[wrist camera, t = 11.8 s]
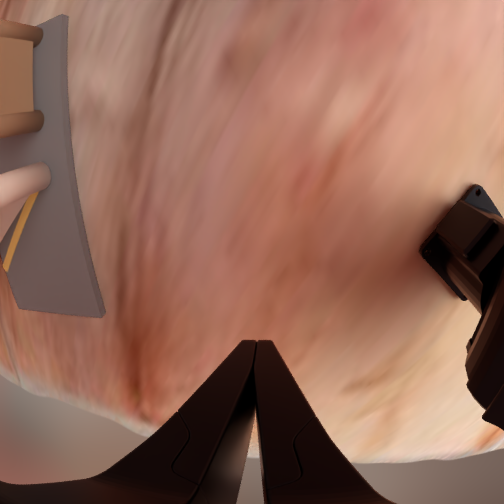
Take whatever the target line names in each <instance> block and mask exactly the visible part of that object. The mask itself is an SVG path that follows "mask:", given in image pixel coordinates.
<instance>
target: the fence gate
mask: <svg viewBox="0 0 504 504" xmlns="http://www.w3.org/2000/svg"><path fill="white" fill-rule="evenodd" d="M50 181H51V173H50V169H49V167H48V166H47V165H46V164H45V163H43V162H37V163H34V164H31V165H27V166H24V167H21V168H18V169H15V170H12V171H9V172H6V173H3V174H0V243H1V241H2V239H3V237H4V236H5V234H6V232H7V230H8V229H9V227H10V225H11V224H12V222H13V220H14V219H15V217H16V216H17V214H18V212H19V211H20V209H21V208H22V206H23V205H24V203H25V202H26V200H27V199H28V197H29V196H30V195H31V194H34V193H36V192H38V191H41V190H43V189H45V188H47V187H48V186H49V184H50Z"/></svg>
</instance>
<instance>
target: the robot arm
mask: <svg viewBox="0 0 504 504" xmlns="http://www.w3.org/2000/svg"><path fill="white" fill-rule="evenodd" d="M477 189H478V193H477V194H475V193H476V190H477ZM426 249H429V251H428V252H427V253H425V250H426ZM419 253H420V255H421V256H422V257H423V258H424V259H425V260H426V261H427V262H428V263H429V265H430V266H431V267H432V268H433V269H434V270H435V271H436V272H437V273H438V274H439V275H440V276H441V277H442V279H443V280H444V281H445V282H446V283H447V284H448V285H449V286H450V287H451V289H452V290H453V291H454V292H455V293H456V294H457V295H458V296H459V298H460V299H461V300H462V301H466V300H469V301H470V302H471V303H472V305H473V306H474V307H475V308H476V309H477V311H478V312H479V313H480V314H481V315H482V316H481V318H480V320H479V323H478V325H477V327H476V330H475V332H474V334H473V336H472V338H470V339H469V341H468V344H467V346H466V348H467V358H466V363H465V367H466V372H467V376H468V379H469V380H468V382H467V384H466V385H467V388H468V390H469V391H470V393H471V394H472V396H473V398H474V399H475V400H476V401H477V402H478V403H479V404H480V406H481V407H482V408H484V409H485V410H486V411H485V413H484V414H483V415H482V419H483V420H484V421H487V422H489V423H491V424H493V425H496V426H498V427H499V428H501V429H502V430H504V219H503V217H502V216H501V214H500V212H499V211H498V209H497V208H496V206H495V205H494V203H493V202H492V200H491V199H490V198H489V196H488V195H487V193H486V192H485V190H484V189H483V188H482V187H481V186H480V185H478V184H474V185H472V186H471V188H470V189H469V190H468V191H467V193H466V194H465V195H464V196H463V198H462V199H461V200H460V201H458V202H457V203H456V204H455V206H454V207H453V208H452V209H451V210H450V212H449V213H448V214H447V215H446V216H445V218H444V219H443V220H442V221H441V222H440V223H439V225H438V226H437V228H436V230H435V231H434V232H433V233H432V234H431V235H430V237H429V238H428V239H427V240H426V241H425V242H424V243H423V244H422V245H421V247H420V249H419ZM255 413H256V420H257V431H258V442H259V453H260V464H261V475H262V486H263V497H264V504H397V503H394V502H392V501H390V500H388V499H386V498H384V497H383V496H381V495H380V494H379V493H378V492H377V491H375V490H374V489H373V488H372V487H371V485H370V484H369V483H368V482H367V481H366V480H365V479H364V478H363V477H362V476H361V474H360V473H359V472H358V471H357V470H356V469H355V468H354V466H353V465H352V464H351V463H350V462H349V461H348V459H347V458H346V457H345V456H344V455H343V454H342V452H341V451H340V450H339V449H338V447H337V446H336V445H335V444H334V442H333V441H332V440H331V438H330V437H329V435H328V434H327V432H326V431H325V429H324V428H323V426H322V424H321V423H320V421H319V419H318V418H317V417H316V415H315V413H314V411H313V410H312V408H311V406H310V405H309V403H308V401H307V400H306V398H305V396H304V394H303V393H302V391H301V389H300V388H299V386H298V384H297V383H296V381H295V379H294V377H293V376H292V374H291V372H290V371H289V369H288V367H287V365H286V364H285V362H284V360H283V359H282V357H281V355H280V353H279V352H278V350H277V348H276V346H275V345H274V343H273V341H271V340H258V341H256V340H242V341H241V342H240V343H239V344H238V345H237V346H236V348H235V349H234V350H233V351H232V352H231V353H230V354H229V355H228V357H227V358H226V359H225V360H224V361H223V362H222V363H221V364H220V365H219V366H218V368H217V369H216V370H215V371H214V372H213V373H212V374H211V375H210V376H209V377H208V378H207V380H206V381H205V382H204V383H203V384H202V385H201V386H200V387H199V388H198V389H197V390H196V391H195V392H194V394H193V395H192V396H191V397H190V398H189V399H188V400H187V401H186V402H185V403H184V404H183V405H182V406H181V407H180V408H179V409H178V412H175V413H174V415H173V416H172V417H171V418H170V419H169V420H168V421H167V422H166V423H165V424H164V425H163V426H162V427H160V428H159V429H158V430H157V431H156V432H155V433H154V434H153V435H152V436H150V437H149V438H148V439H147V440H146V441H144V442H143V443H142V444H141V445H139V446H138V447H137V448H135V449H134V450H133V451H132V452H130V453H129V454H128V455H126V456H125V457H124V458H122V459H121V460H120V461H118V462H117V463H116V464H114V465H113V466H112V467H110V468H109V469H107V470H106V471H104V472H102V473H100V474H98V475H96V476H94V477H91V478H87V479H81V480H73V481H64V482H55V483H44V484H43V483H42V484H28V485H27V484H26V485H18V484H17V485H16V484H9V483H6V482H2V481H0V504H236V502H237V498H238V493H239V489H240V484H241V480H242V475H243V471H244V466H245V462H246V457H247V452H248V448H249V443H250V438H251V433H252V429H253V424H254V419H255Z"/></svg>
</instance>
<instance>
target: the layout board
mask: <svg viewBox="0 0 504 504" xmlns="http://www.w3.org/2000/svg"><path fill="white" fill-rule="evenodd" d="M67 35H68V16H66V15H63V14H61V15H59V16H57V17H54V18H52V19H50V20H48V21H46V22H44V23H41V24H39V25H37V26H30V25H26V24H21V23H16V22H11V21H6V20H0V174H3V173H6V172H9V171H12V170H15V169H18V168H21V167H24V166H27V165H31V164H34V163H37V162H43V163H45V164H46V165H47V166H48V167H49V169H50V173H51V181H50V184H49V186H48V187H47V188H45V189H43V190H41V191H38V192H36V193H34V194H31V195H30V196H29V197H28V199H27V200H26V202H25V203H24V205H23V206H22V208H21V209H20V211H19V212H18V214H17V216H16V217H15V219H14V220H13V222H12V224H11V225H10V227H9V229H8V230H7V232H6V234H5V236H4V237H3V239H2V241H1V243H0V255H1V258H2V261H3V268H4V269H5V271H6V274H7V277H8V280H9V283H10V286H11V289H12V292H13V295H14V298H15V300H16V303H17V306H18V308H19V309H24V310H32V311H40V312H48V313H57V314H66V315H75V316H85V317H96V318H102V317H103V316H104V314H105V313H106V311H105V308H104V305H103V301H102V298H101V294H100V290H99V287H98V283H97V279H96V275H95V271H94V267H93V263H92V259H91V255H90V251H89V246H88V242H87V237H86V232H85V227H84V222H83V217H82V212H81V206H80V201H79V195H78V188H77V182H76V175H75V168H74V160H73V152H72V143H71V132H70V121H69V106H68V85H67Z"/></svg>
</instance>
